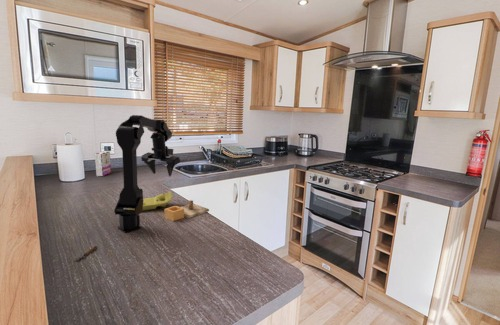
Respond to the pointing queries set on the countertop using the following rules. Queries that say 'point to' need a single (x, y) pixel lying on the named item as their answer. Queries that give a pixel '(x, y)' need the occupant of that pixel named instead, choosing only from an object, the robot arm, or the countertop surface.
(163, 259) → the countertop surface
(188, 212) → the beige peg base
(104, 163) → the candy bar box
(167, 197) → the plastic component
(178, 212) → the orange nut
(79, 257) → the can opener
